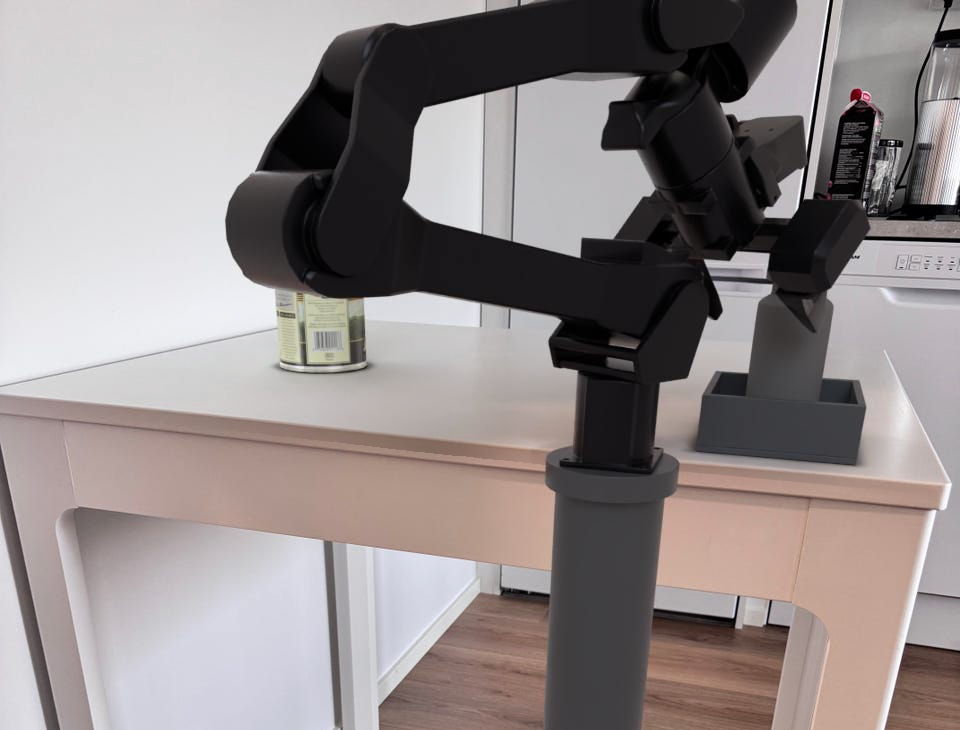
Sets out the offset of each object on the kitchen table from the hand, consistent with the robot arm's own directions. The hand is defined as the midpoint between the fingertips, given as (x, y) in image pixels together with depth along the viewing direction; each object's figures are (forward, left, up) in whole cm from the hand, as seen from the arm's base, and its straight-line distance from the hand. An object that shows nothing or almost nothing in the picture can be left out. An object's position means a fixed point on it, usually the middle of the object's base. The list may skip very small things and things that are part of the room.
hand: (766, 321), depth 74 cm
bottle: (+3, -2, -10) cm, 10 cm away
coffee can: (+23, +50, -10) cm, 56 cm away
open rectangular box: (+3, -2, -10) cm, 11 cm away
